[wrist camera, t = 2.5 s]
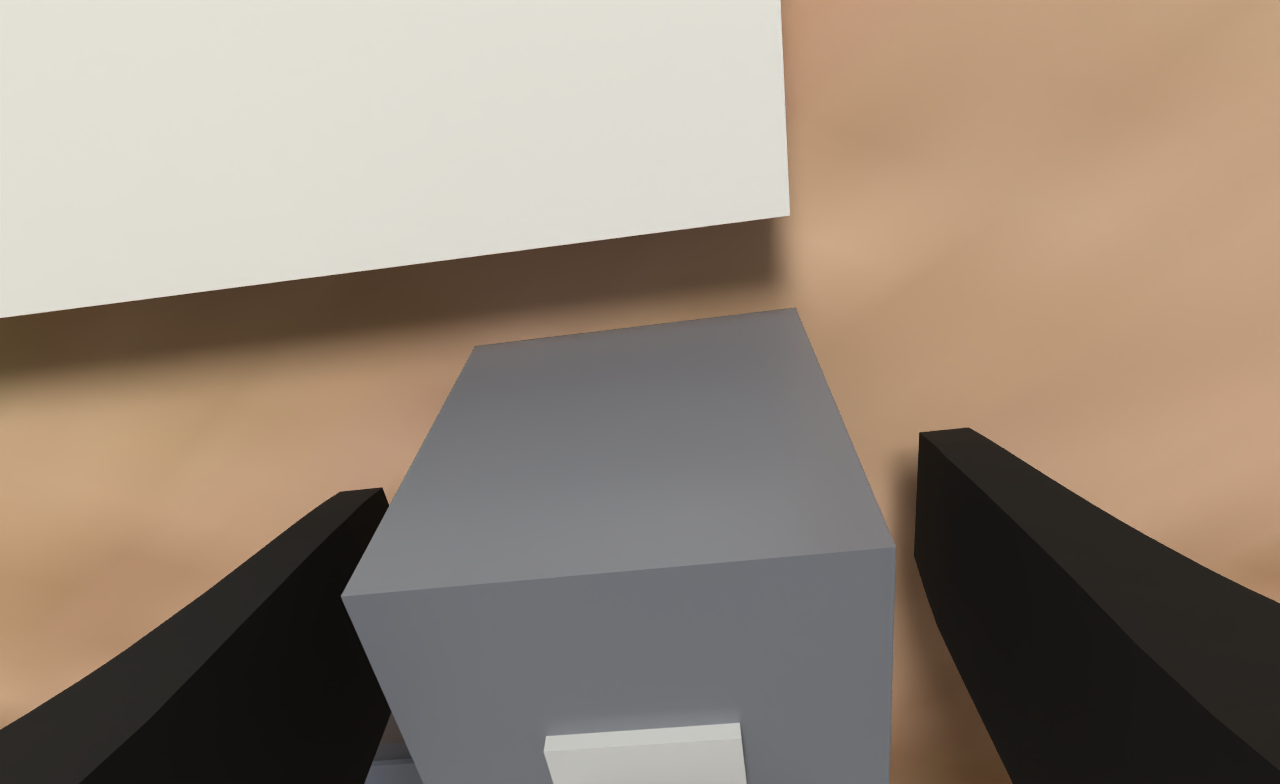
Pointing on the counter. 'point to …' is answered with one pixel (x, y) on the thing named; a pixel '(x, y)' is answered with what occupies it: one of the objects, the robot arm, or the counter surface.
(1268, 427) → the counter surface
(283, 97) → the white square board
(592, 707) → the block
